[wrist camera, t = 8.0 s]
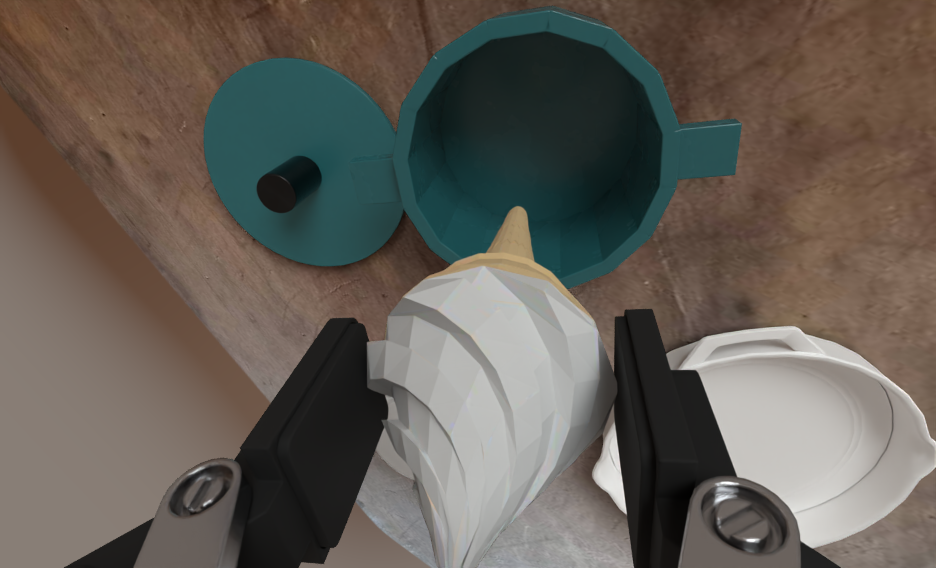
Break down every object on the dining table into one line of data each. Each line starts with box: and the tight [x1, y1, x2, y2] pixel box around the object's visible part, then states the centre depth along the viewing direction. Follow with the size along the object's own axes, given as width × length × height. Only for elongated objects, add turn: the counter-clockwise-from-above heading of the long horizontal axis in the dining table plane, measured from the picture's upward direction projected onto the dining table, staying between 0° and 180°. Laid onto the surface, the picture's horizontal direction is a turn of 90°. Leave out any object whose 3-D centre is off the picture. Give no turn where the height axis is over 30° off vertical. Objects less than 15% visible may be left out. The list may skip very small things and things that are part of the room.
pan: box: [592, 326, 936, 548], centre depth 39 cm, size 24×27×4 cm
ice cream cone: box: [367, 206, 618, 568], centre depth 13 cm, size 6×6×15 cm
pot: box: [348, 6, 742, 289], centre depth 27 cm, size 14×19×8 cm
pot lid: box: [204, 58, 404, 266], centre depth 32 cm, size 15×15×5 cm
